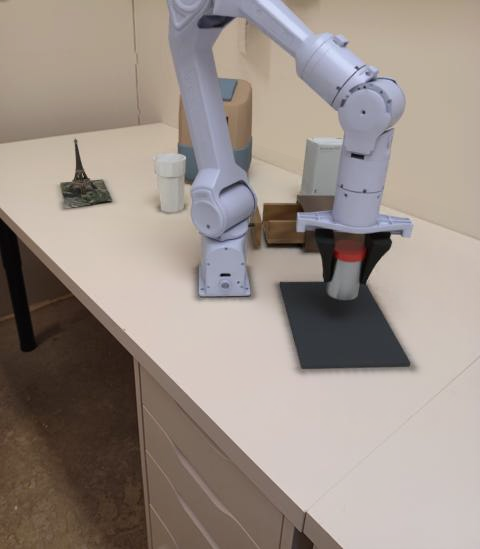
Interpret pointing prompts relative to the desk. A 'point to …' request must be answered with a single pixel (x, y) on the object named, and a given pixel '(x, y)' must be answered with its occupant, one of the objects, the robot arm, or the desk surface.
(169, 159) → the cup
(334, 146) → the cosmetic box
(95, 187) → the eiffel tower figurine
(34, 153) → the desk surface
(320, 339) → the mat
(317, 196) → the cabinet
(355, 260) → the tin
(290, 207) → the drawer
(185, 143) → the tan and blue canister
